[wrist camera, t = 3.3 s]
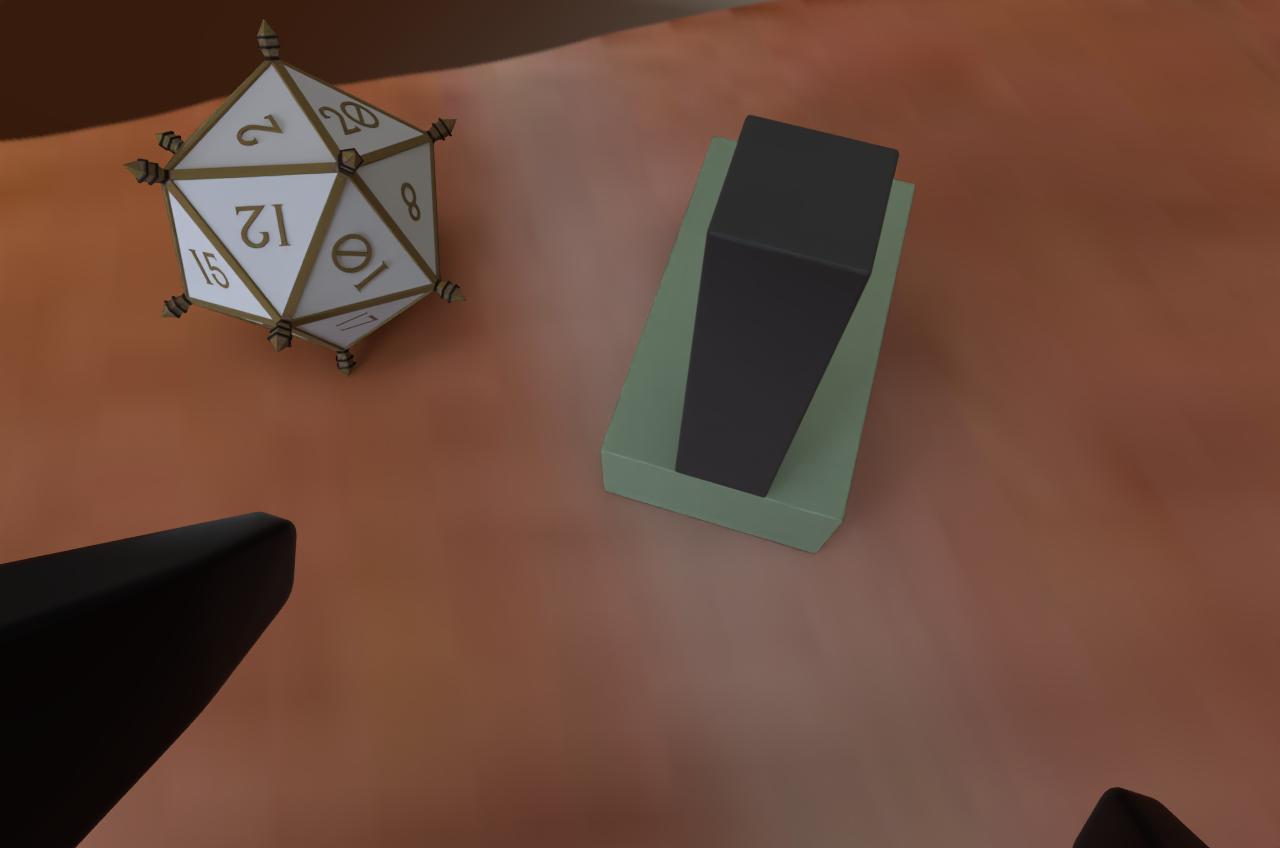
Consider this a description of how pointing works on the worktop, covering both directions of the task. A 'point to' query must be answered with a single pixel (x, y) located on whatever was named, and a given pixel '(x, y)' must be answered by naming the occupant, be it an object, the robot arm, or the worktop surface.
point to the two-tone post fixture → (764, 336)
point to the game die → (302, 209)
